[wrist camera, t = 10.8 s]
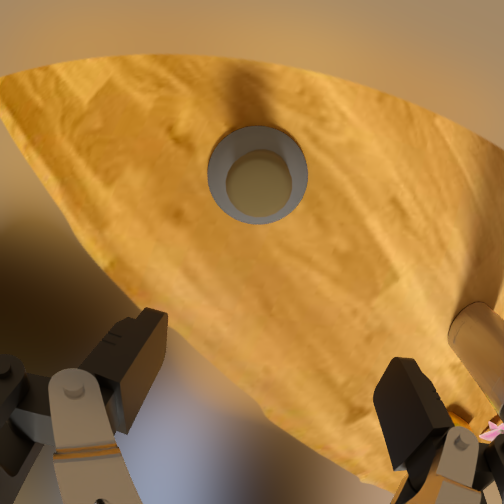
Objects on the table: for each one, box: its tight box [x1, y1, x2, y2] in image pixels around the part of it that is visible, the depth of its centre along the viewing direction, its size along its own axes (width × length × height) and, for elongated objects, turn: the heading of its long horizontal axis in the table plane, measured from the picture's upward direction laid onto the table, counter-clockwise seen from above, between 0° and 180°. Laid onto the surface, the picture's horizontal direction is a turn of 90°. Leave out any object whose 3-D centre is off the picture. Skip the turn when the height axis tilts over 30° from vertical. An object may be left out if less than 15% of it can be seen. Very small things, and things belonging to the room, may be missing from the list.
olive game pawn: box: [225, 149, 292, 217], centre depth 26 cm, size 6×6×11 cm
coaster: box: [208, 126, 308, 224], centre depth 32 cm, size 11×11×1 cm
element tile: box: [448, 412, 473, 433], centre depth 45 cm, size 15×15×5 cm
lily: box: [479, 421, 504, 442], centre depth 43 cm, size 12×12×10 cm
